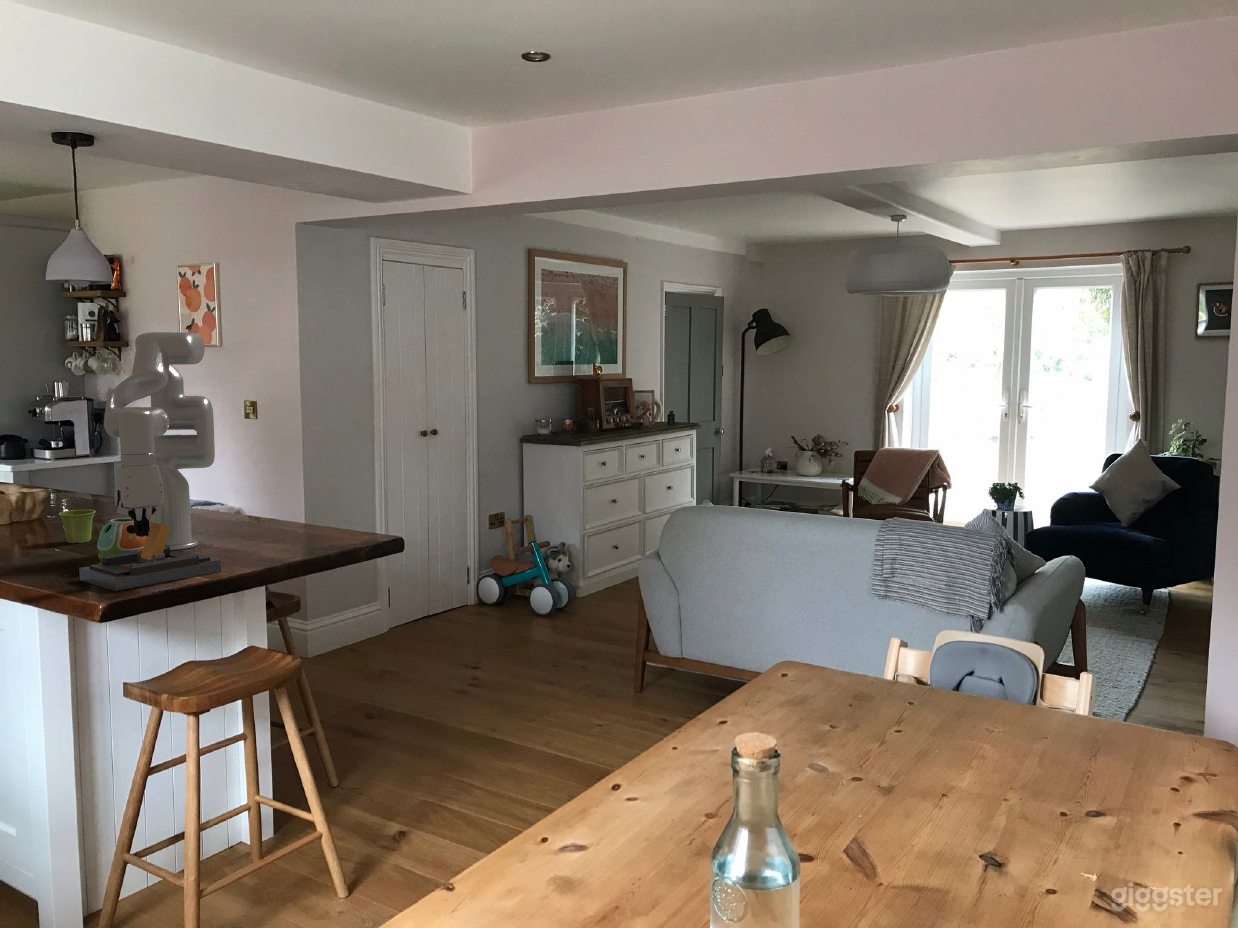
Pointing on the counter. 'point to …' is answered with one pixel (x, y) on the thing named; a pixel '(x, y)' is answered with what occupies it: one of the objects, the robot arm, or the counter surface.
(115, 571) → the grey base plate
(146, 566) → the stepped grey platform
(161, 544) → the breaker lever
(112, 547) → the turtle holder
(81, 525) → the plant pot
